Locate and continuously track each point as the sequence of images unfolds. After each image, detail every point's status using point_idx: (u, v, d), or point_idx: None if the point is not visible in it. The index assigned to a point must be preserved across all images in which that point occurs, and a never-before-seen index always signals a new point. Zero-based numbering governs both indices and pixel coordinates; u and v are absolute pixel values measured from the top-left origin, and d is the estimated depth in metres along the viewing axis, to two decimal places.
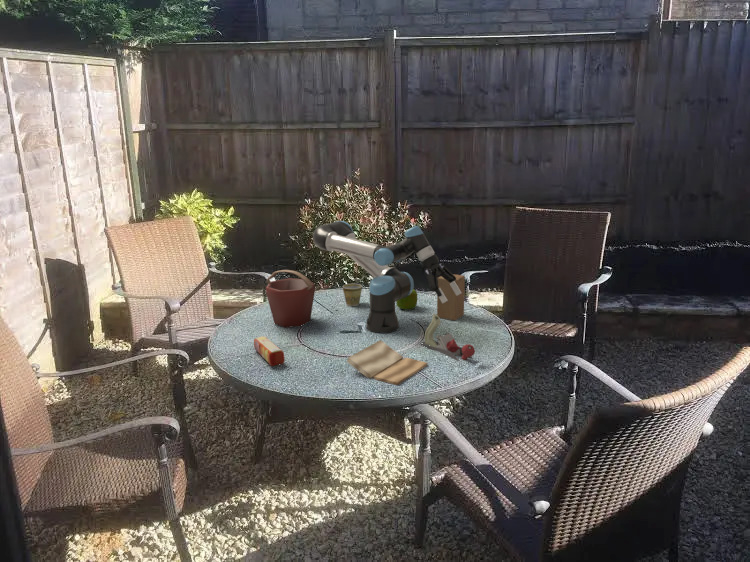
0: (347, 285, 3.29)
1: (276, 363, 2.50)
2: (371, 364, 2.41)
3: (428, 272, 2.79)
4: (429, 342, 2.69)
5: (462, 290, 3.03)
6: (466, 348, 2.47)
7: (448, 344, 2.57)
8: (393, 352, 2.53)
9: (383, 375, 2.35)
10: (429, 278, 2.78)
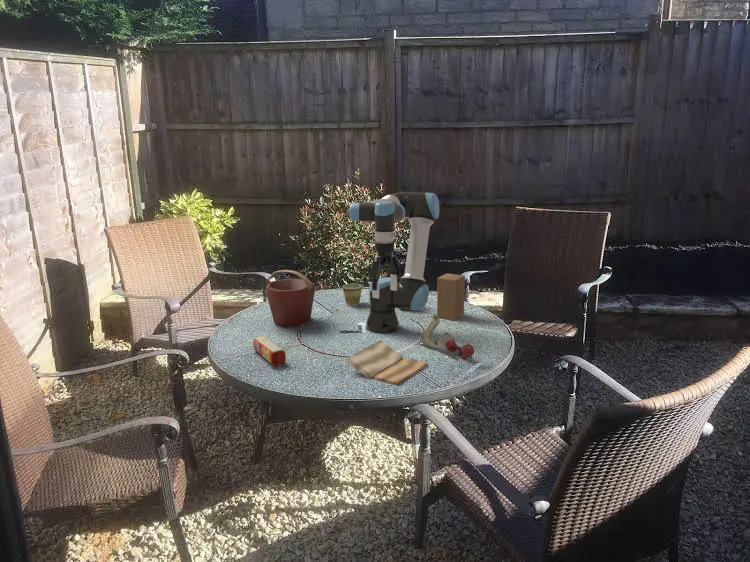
0: (347, 285, 3.29)
1: (278, 363, 2.51)
2: (371, 364, 2.41)
3: (376, 260, 2.43)
4: (428, 342, 2.69)
5: (462, 290, 3.03)
6: (466, 348, 2.48)
7: (447, 344, 2.58)
8: (393, 352, 2.53)
9: (383, 375, 2.35)
10: (374, 267, 2.42)
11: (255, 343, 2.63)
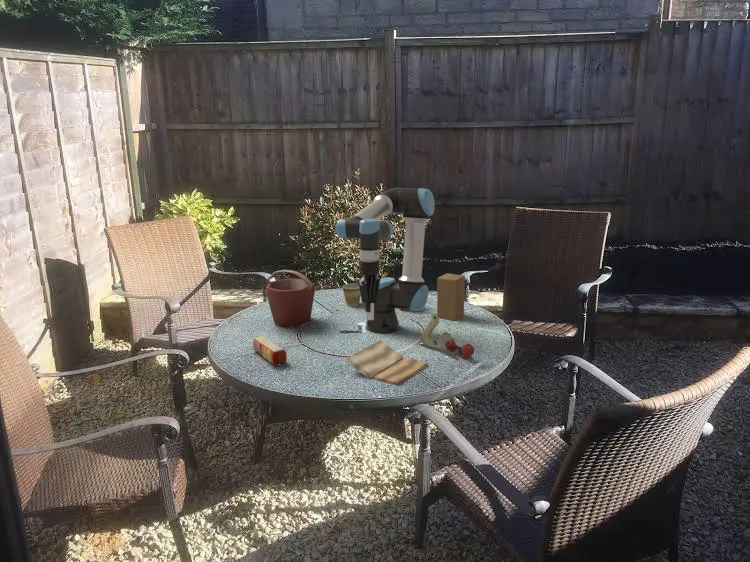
0: (347, 285, 3.29)
1: (279, 362, 2.51)
2: (371, 364, 2.41)
3: (362, 285, 2.37)
4: (427, 342, 2.69)
5: (462, 290, 3.03)
6: (466, 347, 2.48)
7: (447, 343, 2.58)
8: (393, 352, 2.53)
9: (383, 375, 2.35)
10: (362, 291, 2.39)
11: (255, 343, 2.63)
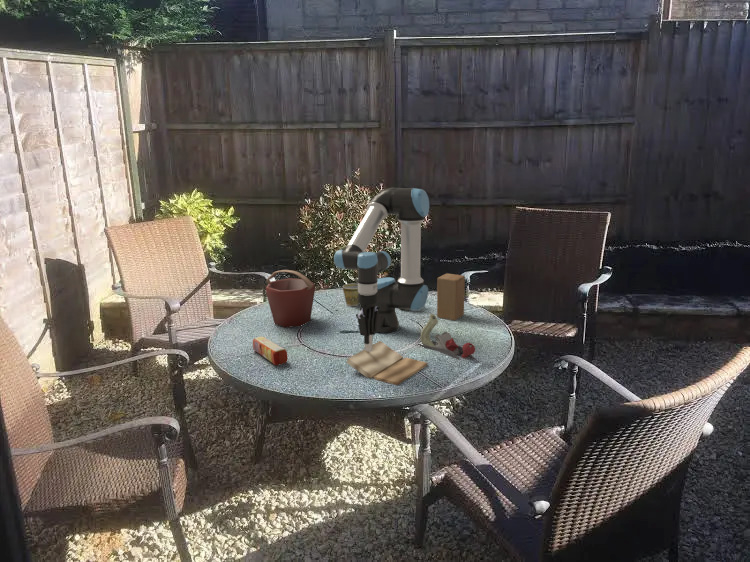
0: (347, 285, 3.29)
1: (280, 362, 2.51)
2: (370, 364, 2.41)
3: (360, 318, 2.39)
4: (426, 342, 2.69)
5: (462, 290, 3.03)
6: (467, 346, 2.49)
7: (447, 343, 2.58)
8: (393, 352, 2.53)
9: (383, 375, 2.35)
10: (361, 323, 2.40)
11: (255, 343, 2.63)
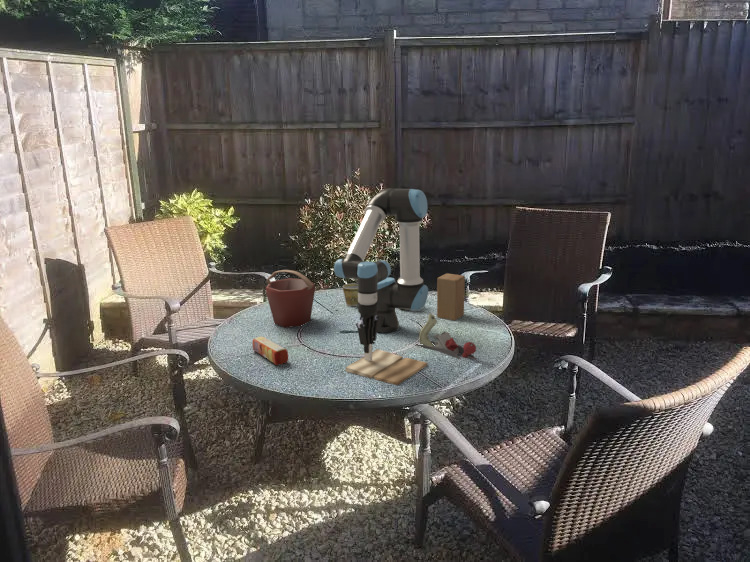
0: (347, 285, 3.29)
1: (281, 362, 2.51)
2: (369, 367, 2.42)
3: (360, 327, 2.39)
4: (425, 342, 2.69)
5: (462, 290, 3.03)
6: (468, 346, 2.50)
7: (447, 343, 2.59)
8: (392, 355, 2.54)
9: (383, 375, 2.35)
10: (361, 333, 2.41)
11: (255, 343, 2.63)
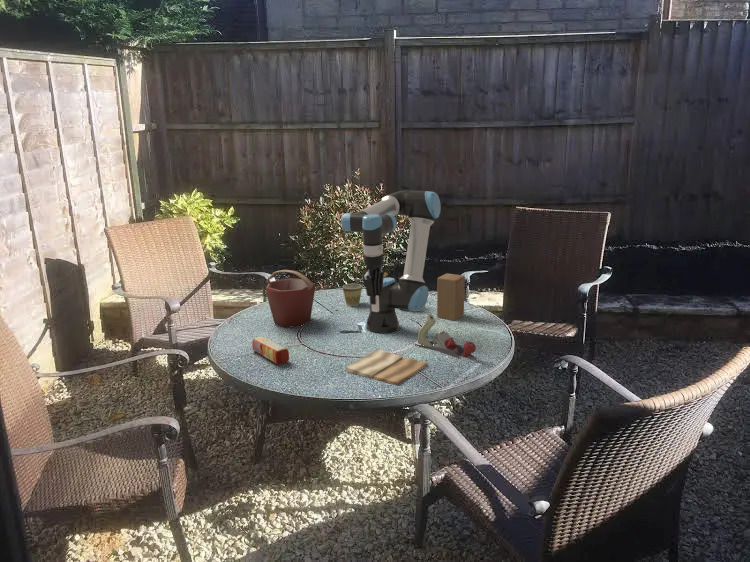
0: (347, 285, 3.29)
1: (282, 361, 2.52)
2: (369, 367, 2.42)
3: (367, 279, 2.44)
4: (423, 342, 2.69)
5: (462, 290, 3.03)
6: (468, 345, 2.50)
7: (446, 343, 2.59)
8: (392, 355, 2.54)
9: (383, 375, 2.35)
10: (368, 284, 2.46)
11: (255, 343, 2.63)
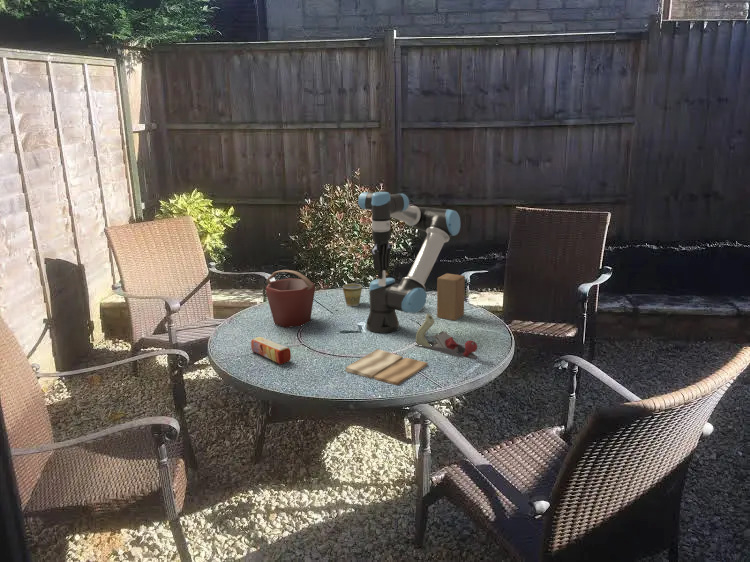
0: (347, 285, 3.29)
1: (284, 361, 2.52)
2: (369, 367, 2.42)
3: (374, 253, 2.56)
4: (422, 342, 2.68)
5: (462, 290, 3.03)
6: (470, 344, 2.51)
7: (446, 342, 2.59)
8: (392, 355, 2.54)
9: (383, 375, 2.35)
10: (375, 259, 2.57)
11: (254, 344, 2.62)
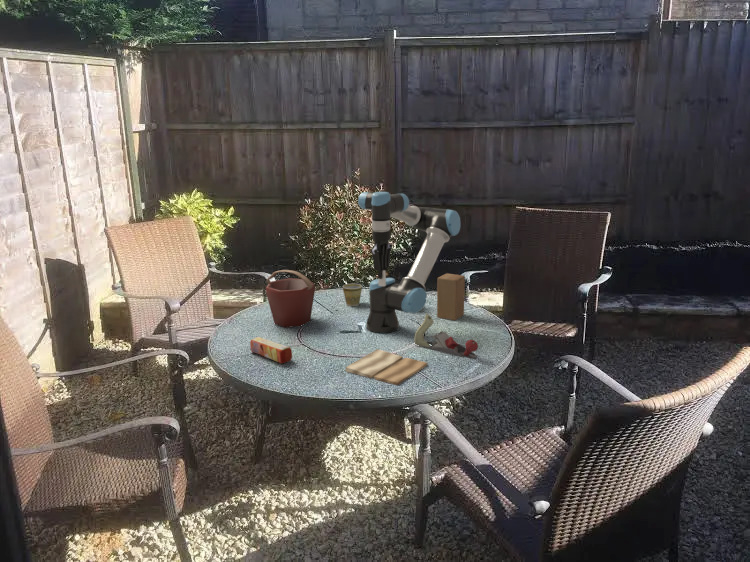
0: (347, 285, 3.29)
1: (285, 360, 2.53)
2: (369, 367, 2.42)
3: (374, 253, 2.56)
4: (421, 343, 2.68)
5: (462, 290, 3.03)
6: (471, 343, 2.52)
7: (446, 342, 2.60)
8: (392, 355, 2.54)
9: (383, 375, 2.35)
10: (375, 259, 2.57)
11: (254, 344, 2.62)
